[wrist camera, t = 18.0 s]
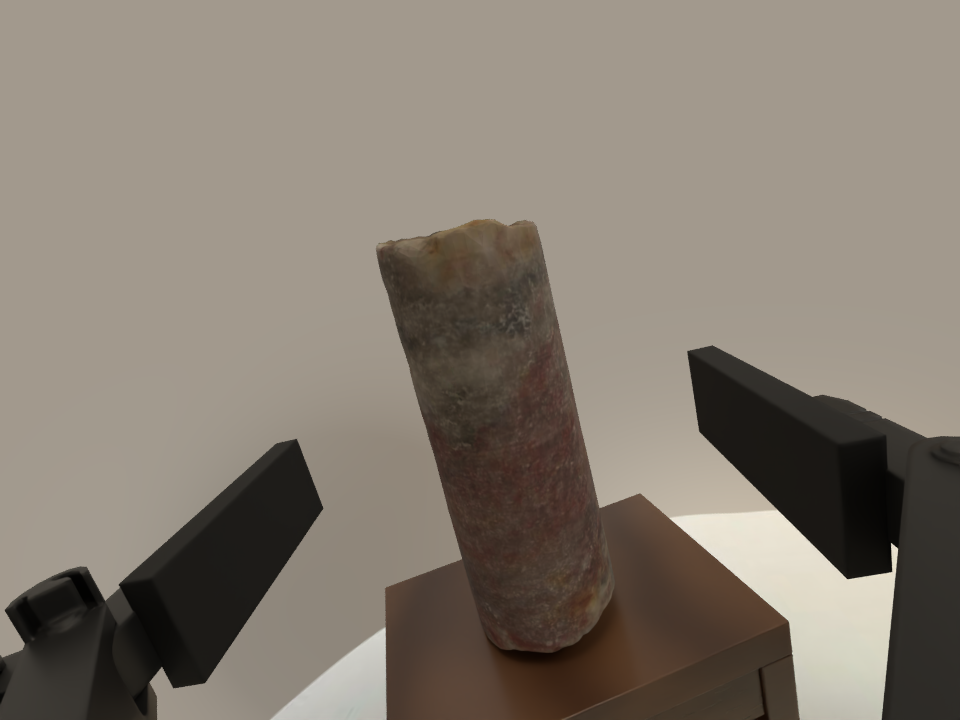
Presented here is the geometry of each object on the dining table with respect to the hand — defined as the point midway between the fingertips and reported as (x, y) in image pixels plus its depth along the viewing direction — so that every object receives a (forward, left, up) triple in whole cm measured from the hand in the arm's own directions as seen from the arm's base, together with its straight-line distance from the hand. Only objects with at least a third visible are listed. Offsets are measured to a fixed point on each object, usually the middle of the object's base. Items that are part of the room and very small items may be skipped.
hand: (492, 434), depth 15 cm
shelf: (-2, -6, -23) cm, 24 cm away
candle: (-2, -6, -13) cm, 15 cm away
